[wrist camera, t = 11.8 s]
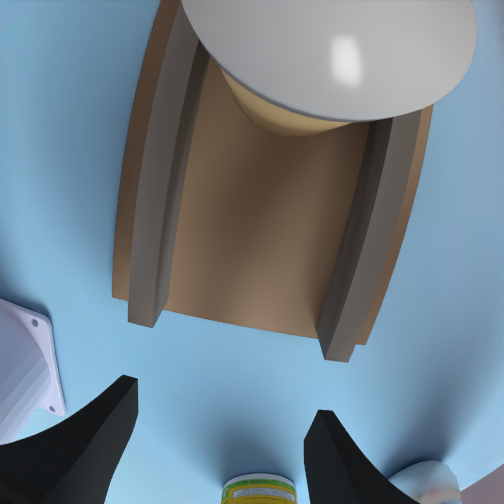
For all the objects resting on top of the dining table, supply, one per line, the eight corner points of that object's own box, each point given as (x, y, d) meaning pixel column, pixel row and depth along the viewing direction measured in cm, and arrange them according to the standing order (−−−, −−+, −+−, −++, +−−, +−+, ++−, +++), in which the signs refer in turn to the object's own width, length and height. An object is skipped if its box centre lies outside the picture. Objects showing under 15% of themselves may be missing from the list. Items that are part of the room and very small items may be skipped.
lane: (116, 292, 14) (72, 341, 10) (186, -53, 9) (164, -108, 5) (362, 338, 15) (391, 398, 11) (436, 5, 10) (485, -28, 6)
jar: (216, 127, 12) (143, 84, 4) (241, 13, 10) (219, -126, 3) (344, 153, 12) (465, 160, 4) (364, 40, 10) (469, -58, 3)
